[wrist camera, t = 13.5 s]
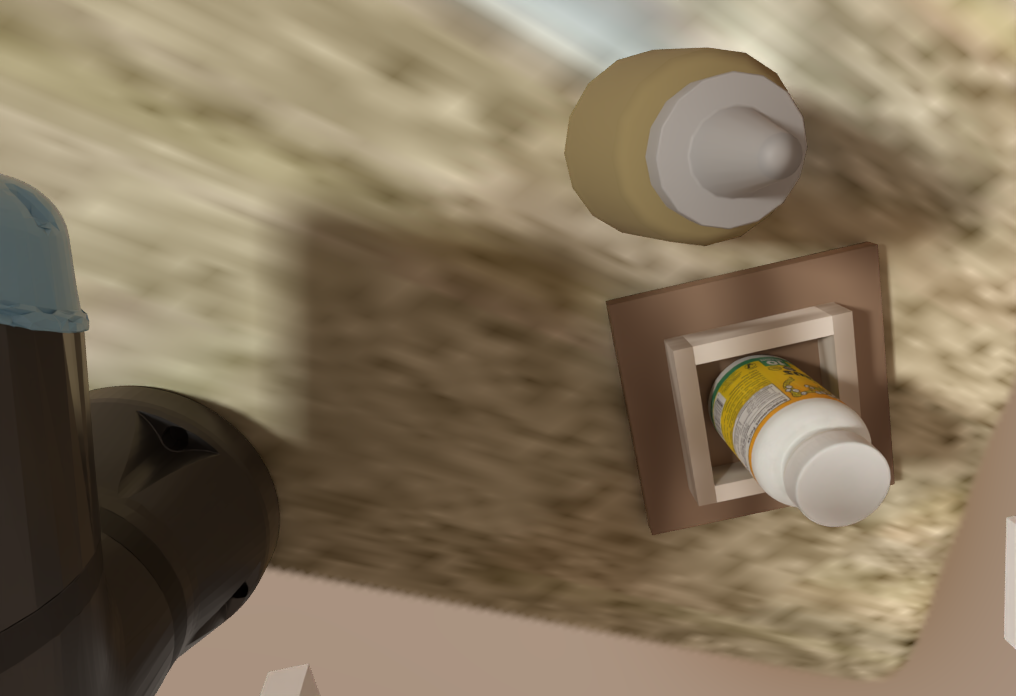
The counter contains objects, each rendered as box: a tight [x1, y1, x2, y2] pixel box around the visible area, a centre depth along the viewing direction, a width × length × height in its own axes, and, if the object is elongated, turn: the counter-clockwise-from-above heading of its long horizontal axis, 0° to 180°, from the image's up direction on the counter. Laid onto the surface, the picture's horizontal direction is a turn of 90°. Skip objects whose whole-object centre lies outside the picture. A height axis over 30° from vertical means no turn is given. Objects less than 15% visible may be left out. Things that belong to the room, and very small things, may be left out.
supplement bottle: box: [708, 355, 891, 527], centre depth 33 cm, size 5×5×10 cm
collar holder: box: [606, 242, 894, 535], centre depth 37 cm, size 14×14×3 cm
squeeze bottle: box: [564, 48, 807, 246], centre depth 26 cm, size 8×8×18 cm
